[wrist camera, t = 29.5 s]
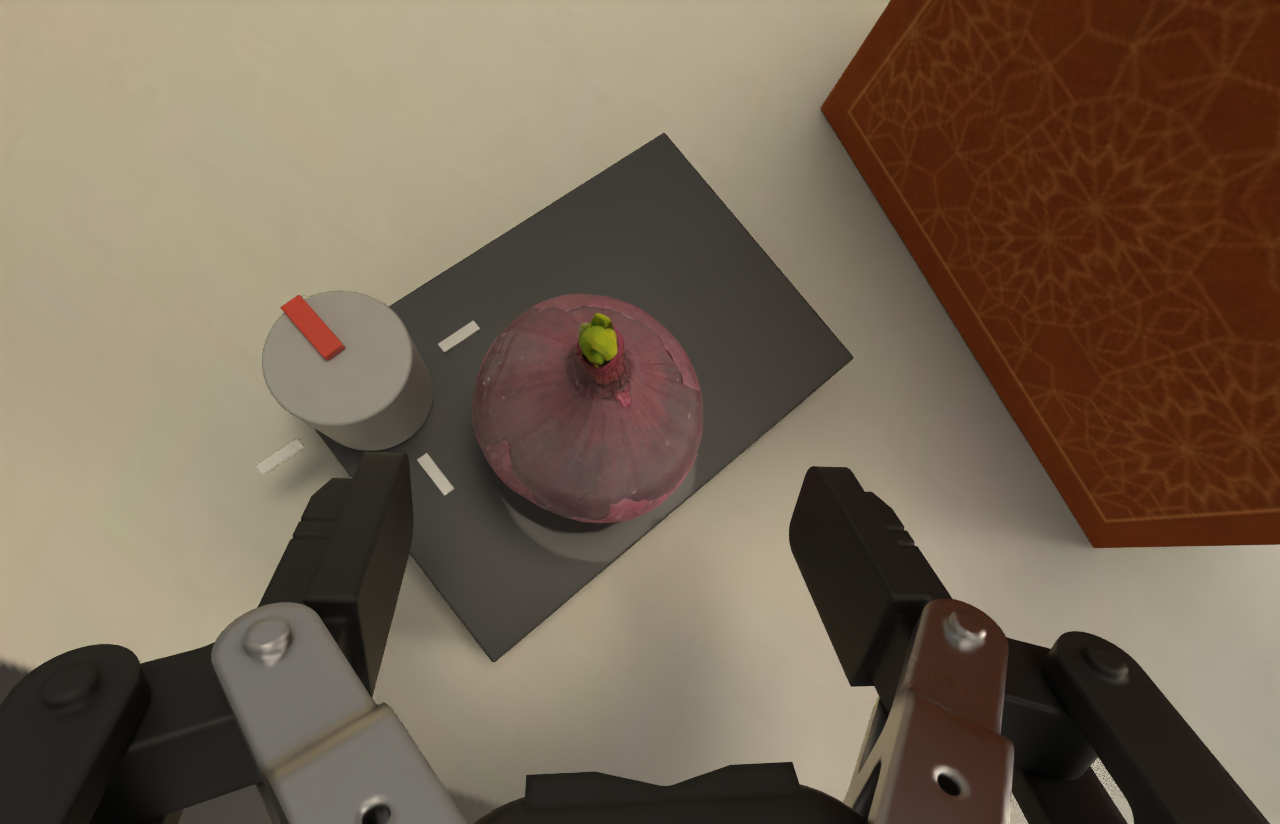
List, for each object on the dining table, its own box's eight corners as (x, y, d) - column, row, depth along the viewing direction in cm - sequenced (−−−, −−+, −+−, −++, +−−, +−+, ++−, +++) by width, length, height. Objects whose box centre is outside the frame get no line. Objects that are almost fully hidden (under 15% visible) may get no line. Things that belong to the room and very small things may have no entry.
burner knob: (457, 401, 21) (440, 361, 16) (362, 475, 20) (318, 453, 15) (384, 318, 21) (349, 258, 17) (286, 387, 20) (223, 342, 16)
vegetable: (513, 322, 22) (503, 132, 12) (689, 373, 22) (813, 231, 13) (458, 500, 20) (395, 445, 10) (648, 548, 21) (755, 539, 11)
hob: (449, 692, 21) (438, 711, 18) (221, 391, 22) (181, 368, 19) (824, 376, 26) (857, 356, 23) (626, 139, 27) (636, 94, 24)
